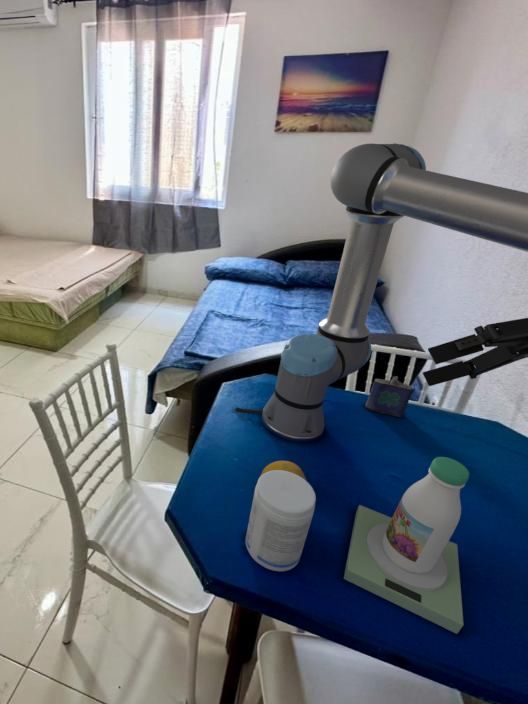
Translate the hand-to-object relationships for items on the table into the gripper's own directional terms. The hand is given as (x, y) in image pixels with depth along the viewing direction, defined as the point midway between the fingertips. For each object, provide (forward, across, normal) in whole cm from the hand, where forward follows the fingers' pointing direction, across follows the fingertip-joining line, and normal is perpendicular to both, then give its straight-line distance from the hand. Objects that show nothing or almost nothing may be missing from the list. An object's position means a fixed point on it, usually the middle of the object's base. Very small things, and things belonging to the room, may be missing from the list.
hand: (428, 368), depth 71 cm
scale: (+16, +8, -30) cm, 35 cm away
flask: (+6, +45, +4) cm, 45 cm away
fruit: (+33, +8, -15) cm, 37 cm away
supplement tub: (+35, -1, -24) cm, 42 cm away
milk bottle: (+15, +6, -28) cm, 32 cm away
